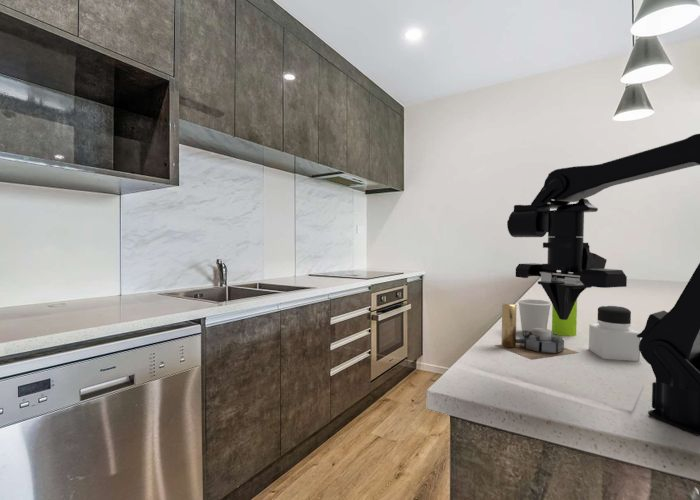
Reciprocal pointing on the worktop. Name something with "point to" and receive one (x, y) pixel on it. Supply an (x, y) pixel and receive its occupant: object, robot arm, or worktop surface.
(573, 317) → the soap dispenser
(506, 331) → the desk sculpture ornament
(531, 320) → the dixie cup
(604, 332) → the medicine bottle
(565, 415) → the worktop surface
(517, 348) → the mount board
